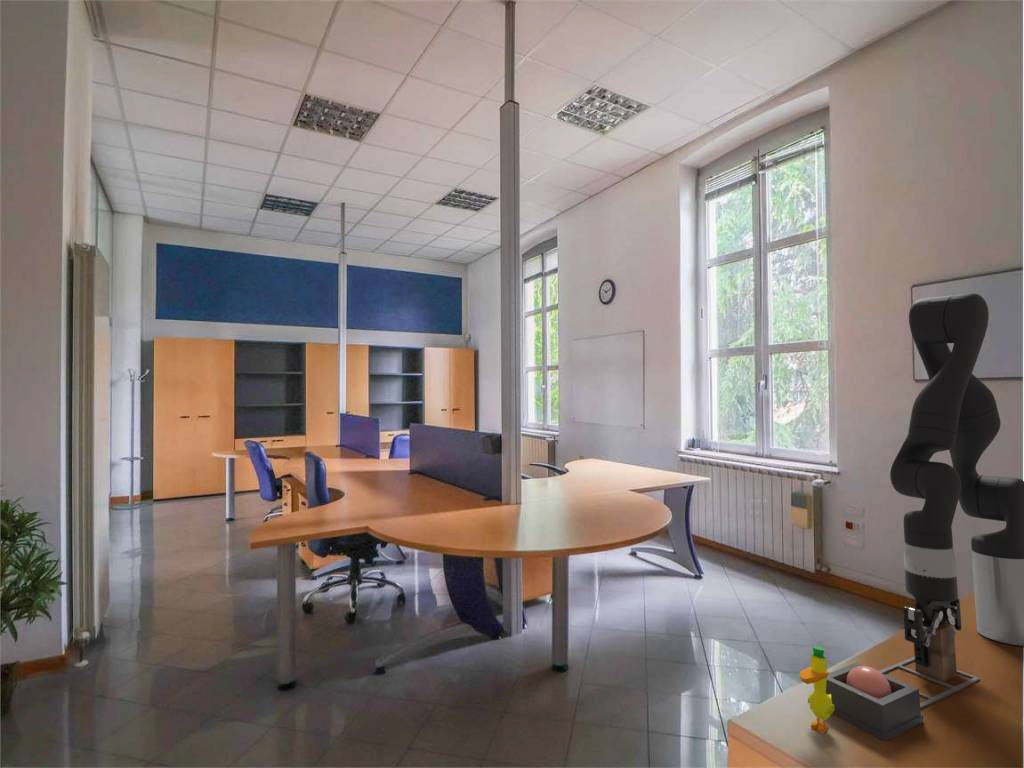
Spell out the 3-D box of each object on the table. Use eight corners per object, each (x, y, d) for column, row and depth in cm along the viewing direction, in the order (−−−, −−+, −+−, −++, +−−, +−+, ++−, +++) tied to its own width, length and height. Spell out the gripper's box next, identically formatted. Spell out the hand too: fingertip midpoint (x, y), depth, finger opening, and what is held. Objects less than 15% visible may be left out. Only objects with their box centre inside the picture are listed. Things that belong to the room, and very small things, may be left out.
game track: (917, 656, 101) (917, 655, 101) (979, 679, 93) (979, 678, 93) (848, 685, 92) (848, 683, 92) (910, 713, 83) (910, 711, 83)
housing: (857, 691, 90) (855, 661, 90) (923, 722, 81) (921, 689, 81) (819, 707, 86) (818, 676, 86) (885, 741, 77) (883, 706, 77)
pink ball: (861, 692, 87) (859, 655, 88) (901, 710, 82) (898, 671, 82) (839, 702, 85) (837, 664, 85) (878, 721, 79) (876, 681, 80)
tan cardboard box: (928, 665, 98) (925, 616, 99) (956, 675, 94) (953, 624, 95) (915, 670, 96) (912, 621, 97) (943, 681, 92) (940, 629, 93)
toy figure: (815, 741, 77) (811, 658, 78) (793, 728, 80) (789, 649, 81) (844, 728, 80) (839, 648, 81) (821, 716, 83) (817, 639, 84)
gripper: (932, 581, 90) (938, 679, 89) (974, 568, 96) (980, 660, 95) (885, 570, 96) (890, 660, 96) (927, 558, 103) (933, 643, 102)
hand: (935, 660), depth 95 cm, fingers open, 7 cm apart
